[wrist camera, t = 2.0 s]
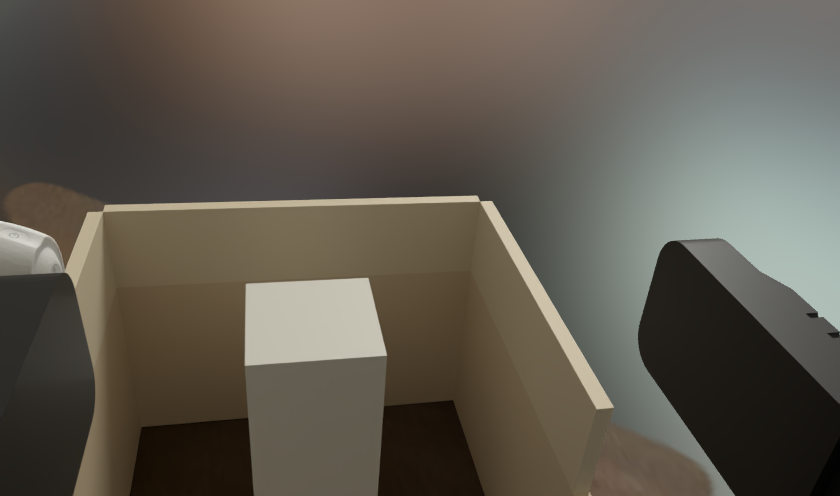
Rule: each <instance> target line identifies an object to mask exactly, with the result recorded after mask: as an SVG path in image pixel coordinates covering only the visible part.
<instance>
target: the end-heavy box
mask: <svg viewBox="0 0 840 496" xmlns="http://www.w3.org/2000/svg"><path fill="white" fill-rule="evenodd" d="M386 363H387V353H386V349H385V345H384V341H383V337H382V333H381V328H380V324H379V320H378V316H377V312H376V308H375V303H374V299H373V295H372V291H371V287H370V283H369V279H368V278H354V279H333V280H313V281H292V282H272V283H251V284H246V310H245V376H246V391H247V405H248V419H249V433H250V448H251V462H252V476H253V490H254V496H378V483H379V468H380V453H381V438H382V423H383V408H384V393H385V378H386Z"/></svg>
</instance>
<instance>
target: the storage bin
mask: <svg viewBox="0 0 840 496" xmlns="http://www.w3.org/2000/svg"><path fill="white" fill-rule="evenodd" d="M64 273H67V274H68V275H69V276H70V278H71V279H72V282H73V284H74V288H75V292H76V296H77V300H78V305H79V309H80V313H81V317H82V322H83V326H84V330H85V335H86V339H87V343H88V348H89V352H90V356H91V360H92V365H93V370H94V377H95V408H94V415H93V420H92V424H91V428H90V432H89V436H88V439H87V443H86V447H85V451H84V455H83V459H82V463H81V467H80V470H79V474H78V478H77V482H76V486H75V490H74V494H73V496H130V491H131V485H132V480H133V474H134V468H135V462H136V457H137V451H138V445H139V440H140V434H141V428H142V427H149V426H160V425H172V424H183V423H195V422H206V421H218V420H230V419H241V418H248V405H247V391H246V376H245V310H246V284H251V283H272V282H292V281H313V280H333V279H354V278H368V279H369V283H370V287H371V291H372V295H373V299H374V303H375V308H376V312H377V316H378V320H379V324H380V328H381V333H382V337H383V341H384V345H385V349H386V353H387V363H386V378H385V393H384V406H392V405H403V404H415V403H426V402H438V401H450V400H453V402H454V405H455V408H456V411H457V414H458V417H459V420H460V423H461V426H462V429H463V432H464V435H465V438H466V441H467V444H468V447H469V450H470V453H471V456H472V459H473V462H474V465H475V468H476V471H477V474H478V477H479V480H480V483H481V486H482V489H483V492H484V495H485V496H591V494H590V492H589V490H590V486H591V483H592V480H593V476H594V473H595V470H596V466H597V463H598V460H599V456H600V453H601V450H602V446H603V443H604V440H605V436H606V433H607V430H608V426H609V423H610V419H611V416H612V413H613V410H614V407H613V405H612V403H611V402H610V400H609V398H608V397H607V395H606V393H605V392H604V390H603V388H602V387H601V385H600V383H599V381H598V380H597V378H596V376H595V375H594V373H593V371H592V370H591V368H590V366H589V365H588V363H587V361H586V359H585V358H584V356H583V354H582V353H581V351H580V349H579V348H578V346H577V344H576V343H575V341H574V339H573V337H572V336H571V334H570V333H569V331H568V329H567V327H566V326H565V324H564V323H563V321H562V319H561V317H560V316H559V314H558V312H557V311H556V309H555V307H554V306H553V304H552V302H551V300H550V299H549V297H548V295H547V293H546V292H545V290H544V288H543V287H542V285H541V283H540V282H539V280H538V278H537V277H536V275H535V273H534V272H533V270H532V268H531V267H530V265H529V263H528V261H527V260H526V258H525V256H524V255H523V253H522V251H521V249H520V248H519V246H518V244H517V243H516V241H515V239H514V238H513V236H512V234H511V233H510V231H509V229H508V228H507V226H506V224H505V222H504V221H503V219H502V217H501V216H500V214H499V213H498V211H497V209H496V207H495V206H494V204H493V202H492V201H486V202H485V201H484V202H480V201H479V199H478V197H477V196H451V197H450V196H449V197H413V198H412V197H411V198H371V199H330V200H290V201H251V202H216V203H215V202H214V203H213V202H212V203H172V204H133V205H105V207H104V210H103V212H88V213H87V216H86V218H85V221H84V223H83V226H82V229H81V231H80V234H79V236H78V239H77V241H76V244H75V246H74V249H73V251H72V254H71V256H70V259H69V261H68V264H67V267H66V269H65V272H64Z"/></svg>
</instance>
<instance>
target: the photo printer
mask: <svg viewBox="0 0 840 496" xmlns="http://www.w3.org/2000/svg"><path fill="white" fill-rule="evenodd" d="M64 272H65V269H64V264H63V259H62V255H61V252H60V250H59V247H58V245H57V243H56V242H55V240H54V239H53V238H52V237H50V236H48V235H46V234H43V233H41V232H38V231H35V230H32V229H29V228H26V227H23V226H19V225H16V224H11V223H7V222H2V221H0V276H9V275H28V274H46V273H64Z"/></svg>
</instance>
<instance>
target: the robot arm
mask: <svg viewBox="0 0 840 496" xmlns="http://www.w3.org/2000/svg"><path fill="white" fill-rule="evenodd" d="M839 333H840V332H839V331H838V330H837V329H836V328H835V327H834V326H832V325H831V324H830V323H829V322H828V321H827V320H826V319H825V318H824V317H820V318H819V317H818V312H817V311H816V310H815V309H813V308H812V307H811V306H810V305H809V304H808V303H807V302H806V301H805V300H803V299H802V298H801V297H800V296H799V295H798V294H797V293H796V292H795V291H793V290H792V289H791V288H789V287H787V286H785V285H784V284H781V283H780V282H778V281H776V280H774V279H773V278H771V277H769V276H767V275H765V274H764V273H762V272H760V271H759V270H758V269H757V268H755V267H754V266H753V265H752V264H751V263H750V262H749V261H748V260H747V259H746V258H745V257H743V256H742V255H741V254H740V253H739V252H738V251H737V250H736V249H735V248H734V247H732V246H731V245H730V244H729V243H728V242H727V241H725V240H723V239H718V238H717V239H699V240H681V241H670V242H668V243H667V244H665V245H664V247H663V248H662V250H661V251H660V254H659V257H658V260H657V264H656V267H655V271H654V275H653V278H652V282H651V285H650V289H649V292H648V296H647V300H646V303H645V307H644V310H643V314H642V318H641V321H640V325H639V331H638V344H639V351H640V355H641V358H642V360H643V363H644V365H645V367H646V369H647V370H648V372H649V373H650V375H651V376H652V377H653V379H654V380H655V382H656V383H657V385H658V386H659V387H660V389H661V390H662V392H663V393H664V395H665V396H666V397H667V399H668V400H669V402H670V403H671V405H672V406H673V407H674V409H675V410H676V412H677V413H678V414H679V416H680V417H681V419H682V420H683V422H684V423H685V425H686V426H687V427H688V429H689V430H690V431H691V433H692V435H693V436H694V437H695V439H696V440H697V442H698V443H699V444H700V446H701V447H702V449H703V450H704V452H705V453H706V454H707V456H708V457H709V459H710V460H711V462H712V463H713V464H714V466H715V467H716V469H717V470H718V472H719V473H720V475H721V476H722V477H723V479H724V480H725V481H726V483H727V485H728V486H729V487H730V489H731V490H732V492H733V493H734V494H735V496H840V335H839ZM94 408H95V377H94V370H93V365H92V360H91V356H90V352H89V348H88V343H87V339H86V335H85V330H84V326H83V322H82V317H81V313H80V309H79V305H78V300H77V296H76V292H75V288H74V284H73V282H72V279H71V278H70V276H69V275H68V274H67V273H46V274H28V275H9V276H0V496H73V494H74V490H75V486H76V482H77V478H78V474H79V470H80V467H81V463H82V459H83V455H84V451H85V447H86V443H87V439H88V436H89V432H90V428H91V424H92V420H93V415H94Z"/></svg>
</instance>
